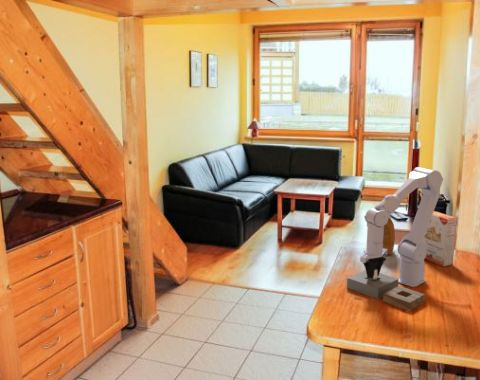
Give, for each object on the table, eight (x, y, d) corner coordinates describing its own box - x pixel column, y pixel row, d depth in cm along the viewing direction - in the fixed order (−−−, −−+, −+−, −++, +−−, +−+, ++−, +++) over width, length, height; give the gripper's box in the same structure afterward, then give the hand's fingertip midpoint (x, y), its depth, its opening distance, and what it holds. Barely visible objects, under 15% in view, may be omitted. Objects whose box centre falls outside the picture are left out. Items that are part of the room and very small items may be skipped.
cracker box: (417, 257, 217) (421, 211, 212) (428, 255, 219) (431, 209, 215) (442, 267, 204) (447, 218, 200) (453, 265, 207) (457, 217, 202)
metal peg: (371, 284, 184) (372, 266, 183) (378, 286, 182) (379, 268, 181) (367, 286, 182) (367, 268, 181) (373, 289, 180) (374, 270, 179)
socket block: (398, 293, 178) (398, 285, 177) (424, 302, 170) (424, 294, 170) (382, 301, 171) (383, 293, 171) (409, 310, 164) (409, 302, 163)
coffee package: (394, 248, 228) (397, 202, 224) (393, 257, 216) (396, 208, 212) (372, 246, 231) (374, 201, 227) (370, 254, 220) (372, 207, 215)
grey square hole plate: (367, 279, 192) (367, 269, 191) (397, 289, 182) (398, 278, 181) (346, 288, 183) (347, 277, 182) (377, 299, 173) (378, 288, 172)
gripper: (376, 235, 186) (374, 268, 189) (353, 242, 177) (352, 278, 180) (393, 239, 181) (390, 274, 184) (370, 247, 172) (368, 284, 174)
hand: (372, 276), depth 181 cm, fingers closed on metal peg, 3 cm apart
